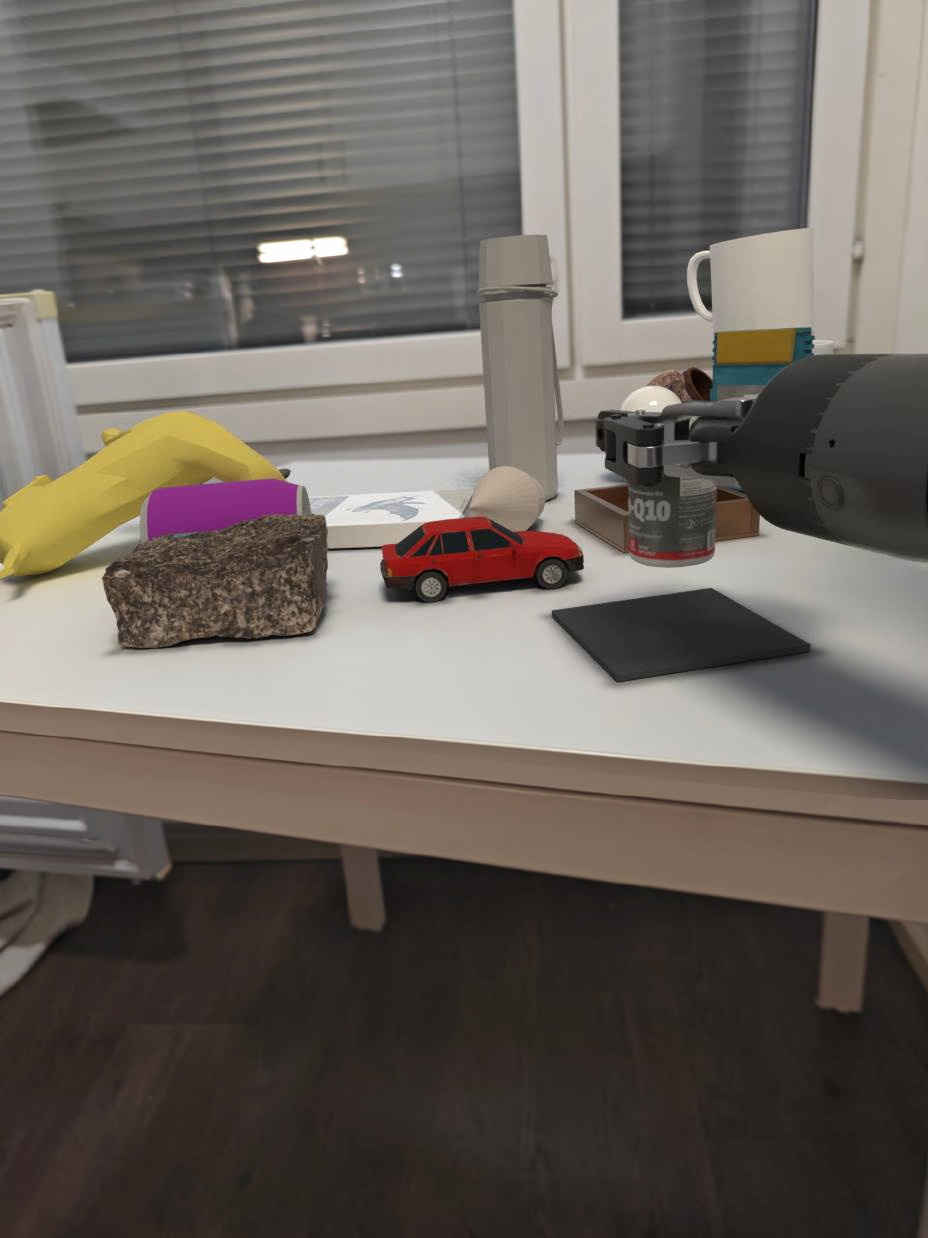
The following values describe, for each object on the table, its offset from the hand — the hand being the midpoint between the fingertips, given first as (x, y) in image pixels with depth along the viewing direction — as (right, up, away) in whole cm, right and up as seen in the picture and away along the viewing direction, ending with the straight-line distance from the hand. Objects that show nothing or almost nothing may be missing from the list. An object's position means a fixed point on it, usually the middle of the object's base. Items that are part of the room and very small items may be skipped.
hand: (644, 424), depth 48 cm
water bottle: (-3, +2, +41) cm, 41 cm away
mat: (+2, -12, +2) cm, 12 cm away
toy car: (-9, -9, +13) cm, 18 cm away
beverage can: (-35, -5, +18) cm, 39 cm away
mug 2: (+20, +18, +42) cm, 50 cm away
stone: (-28, -4, +6) cm, 29 cm away
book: (-21, -3, +32) cm, 38 cm away
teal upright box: (+19, +2, +36) cm, 41 cm away
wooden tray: (+7, -3, +25) cm, 26 cm away
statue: (-46, -1, +33) cm, 57 cm away
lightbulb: (+8, 0, +35) cm, 36 cm away
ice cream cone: (-6, -4, +25) cm, 26 cm away
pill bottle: (+2, -8, 0) cm, 8 cm away
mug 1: (+7, +7, +45) cm, 46 cm away
